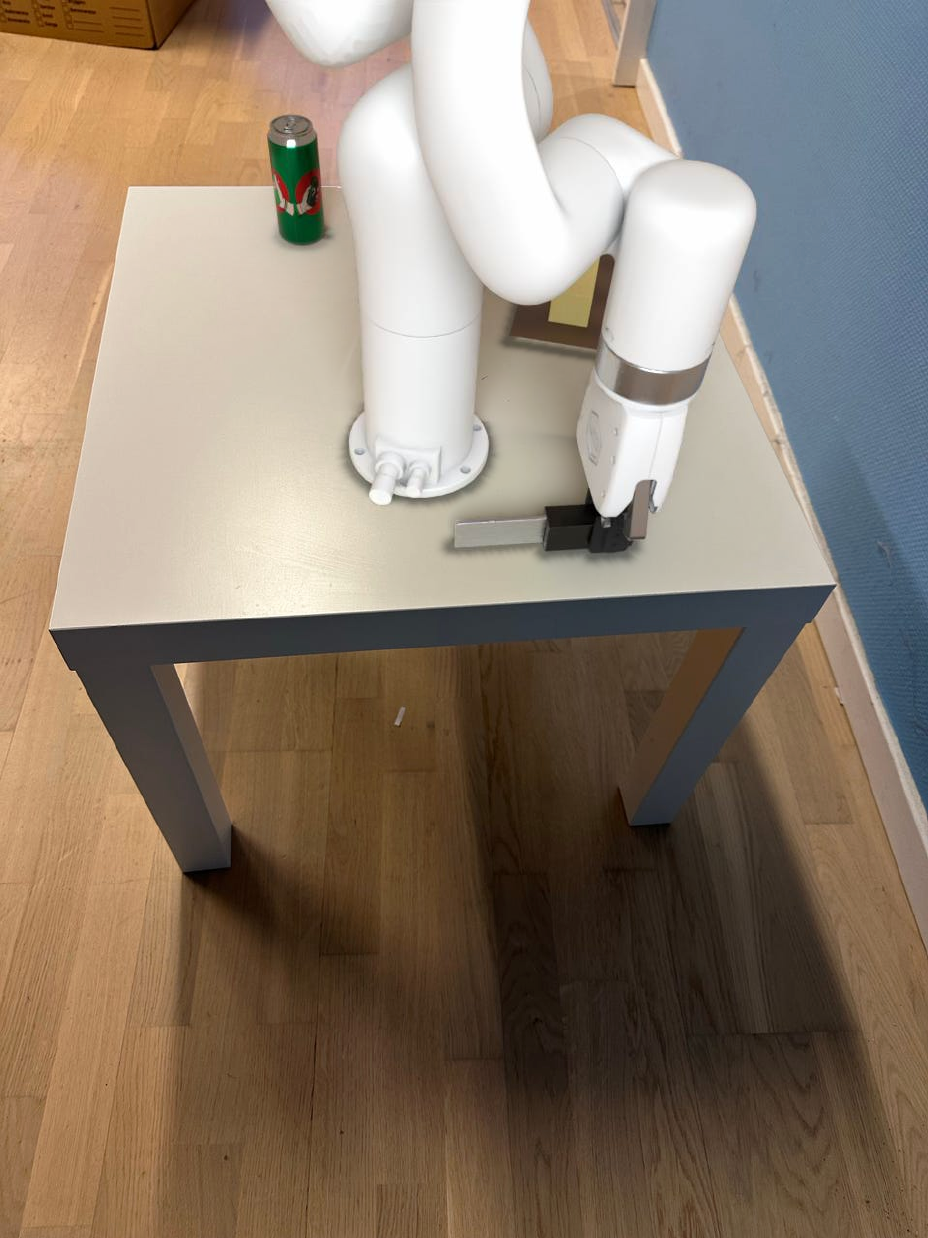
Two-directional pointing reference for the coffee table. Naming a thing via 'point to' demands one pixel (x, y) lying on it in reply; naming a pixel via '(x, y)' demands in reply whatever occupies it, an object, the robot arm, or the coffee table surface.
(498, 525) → the knife
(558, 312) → the butter block
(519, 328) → the board
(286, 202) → the soda can
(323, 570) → the coffee table surface
